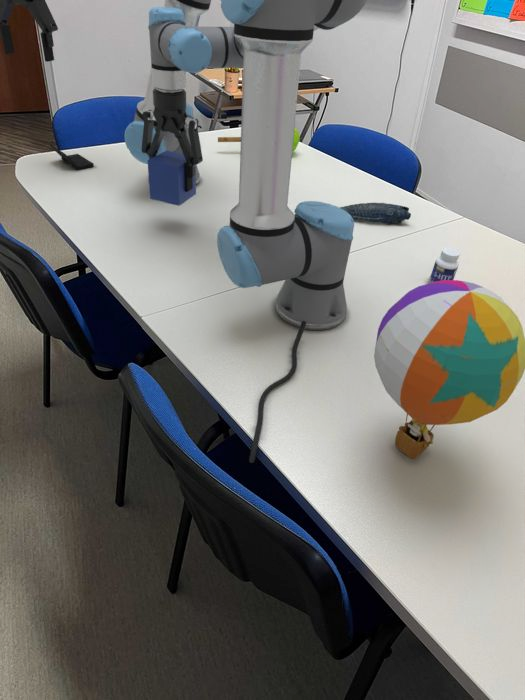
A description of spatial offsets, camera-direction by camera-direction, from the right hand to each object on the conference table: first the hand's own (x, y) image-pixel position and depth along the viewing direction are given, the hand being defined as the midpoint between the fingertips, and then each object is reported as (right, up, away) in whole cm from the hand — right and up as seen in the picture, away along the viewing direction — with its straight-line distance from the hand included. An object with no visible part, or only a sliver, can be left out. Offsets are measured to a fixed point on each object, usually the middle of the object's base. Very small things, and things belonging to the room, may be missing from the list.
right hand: (173, 186), depth 132 cm
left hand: (-41, +38, +10) cm, 57 cm away
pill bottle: (+66, -26, -6) cm, 71 cm away
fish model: (+55, -3, +21) cm, 59 cm away
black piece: (-39, +19, +37) cm, 57 cm away
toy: (+47, -58, -48) cm, 88 cm away
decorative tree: (+21, +30, +59) cm, 69 cm away
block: (0, -2, +2) cm, 3 cm away
